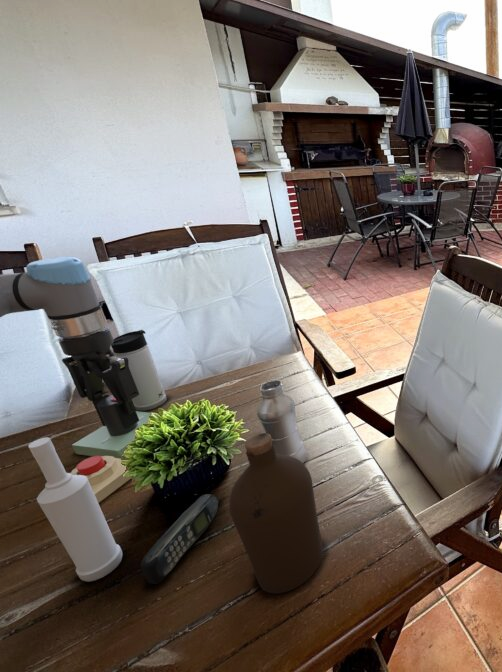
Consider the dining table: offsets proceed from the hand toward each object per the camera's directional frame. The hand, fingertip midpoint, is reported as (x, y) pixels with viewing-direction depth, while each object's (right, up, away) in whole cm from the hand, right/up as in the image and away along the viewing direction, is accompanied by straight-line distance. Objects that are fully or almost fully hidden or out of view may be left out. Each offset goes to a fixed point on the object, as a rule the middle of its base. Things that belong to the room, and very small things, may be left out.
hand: (121, 423), depth 91 cm
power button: (+6, -5, -12) cm, 14 cm away
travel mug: (-5, 0, +14) cm, 15 cm away
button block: (+6, -8, -11) cm, 15 cm away
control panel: (0, -4, +1) cm, 4 cm away
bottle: (+23, -14, -26) cm, 38 cm away
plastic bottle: (+42, -7, -6) cm, 43 cm away
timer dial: (0, -2, +1) cm, 2 cm away
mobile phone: (+34, -13, -22) cm, 42 cm away
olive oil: (+53, -14, -26) cm, 61 cm away
